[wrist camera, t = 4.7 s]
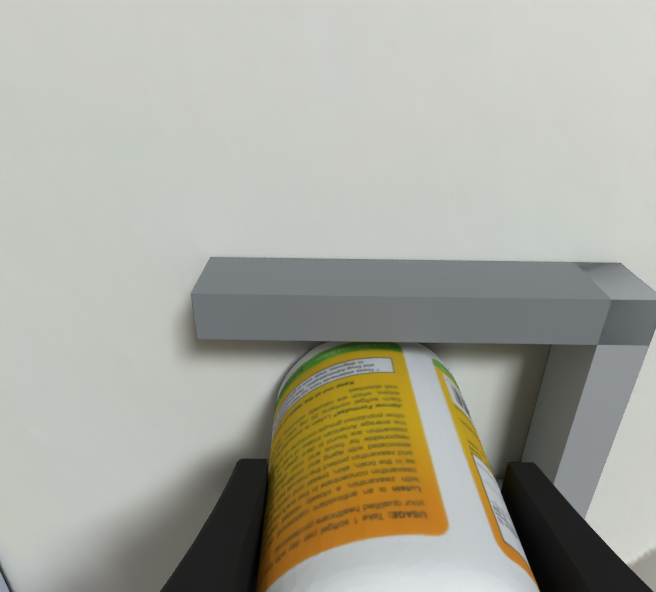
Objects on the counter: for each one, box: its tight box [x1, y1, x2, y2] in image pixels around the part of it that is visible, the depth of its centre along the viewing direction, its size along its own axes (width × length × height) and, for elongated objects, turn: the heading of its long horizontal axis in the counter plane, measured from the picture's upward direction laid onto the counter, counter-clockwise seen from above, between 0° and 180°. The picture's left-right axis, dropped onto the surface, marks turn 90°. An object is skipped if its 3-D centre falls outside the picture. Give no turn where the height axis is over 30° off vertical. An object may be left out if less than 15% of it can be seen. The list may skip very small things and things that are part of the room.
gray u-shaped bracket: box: [191, 257, 656, 519], centre depth 14 cm, size 10×9×2 cm
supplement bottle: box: [256, 341, 540, 592], centre depth 11 cm, size 5×5×10 cm
